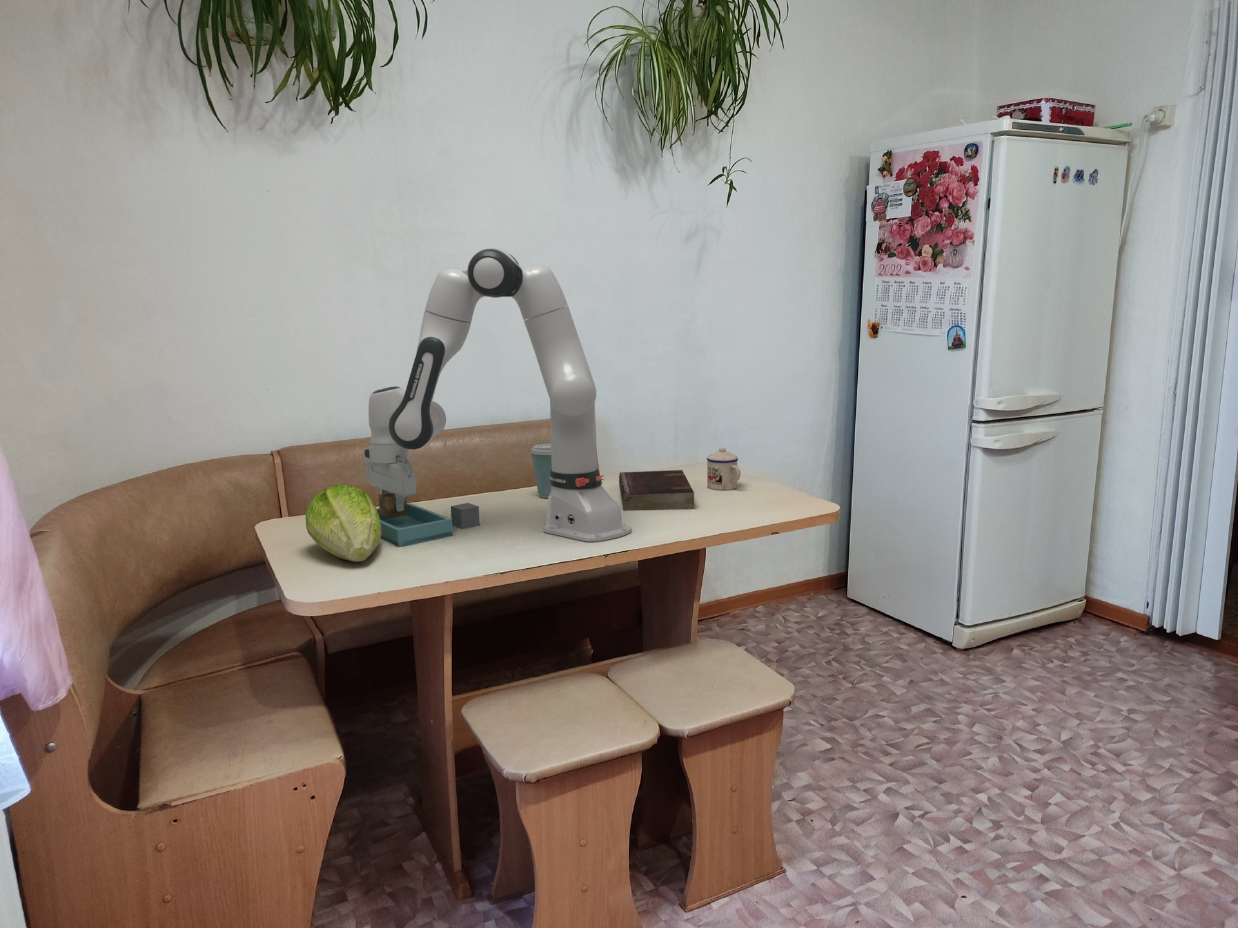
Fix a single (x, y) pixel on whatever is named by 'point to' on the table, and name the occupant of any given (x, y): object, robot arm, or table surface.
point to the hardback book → (655, 490)
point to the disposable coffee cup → (542, 468)
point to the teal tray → (414, 526)
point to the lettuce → (344, 522)
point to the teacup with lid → (722, 470)
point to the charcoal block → (465, 515)
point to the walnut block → (390, 506)
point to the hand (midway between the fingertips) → (393, 508)
